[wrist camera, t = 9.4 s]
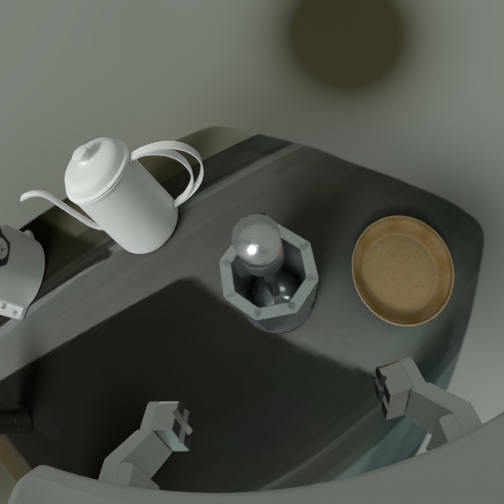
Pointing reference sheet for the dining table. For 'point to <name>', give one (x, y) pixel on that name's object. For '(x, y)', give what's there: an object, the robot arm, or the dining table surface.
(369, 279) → the plant saucer
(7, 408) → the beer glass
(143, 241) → the coffeepot
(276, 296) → the dumbbell
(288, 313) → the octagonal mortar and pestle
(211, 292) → the dining table surface
